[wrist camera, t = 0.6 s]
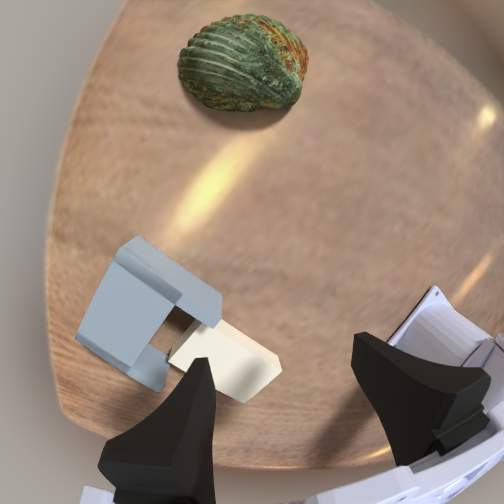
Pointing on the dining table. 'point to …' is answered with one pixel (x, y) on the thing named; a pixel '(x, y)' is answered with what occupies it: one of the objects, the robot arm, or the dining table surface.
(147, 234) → the dining table surface
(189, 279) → the bracket
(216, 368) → the cream rectangular block
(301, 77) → the seashell
